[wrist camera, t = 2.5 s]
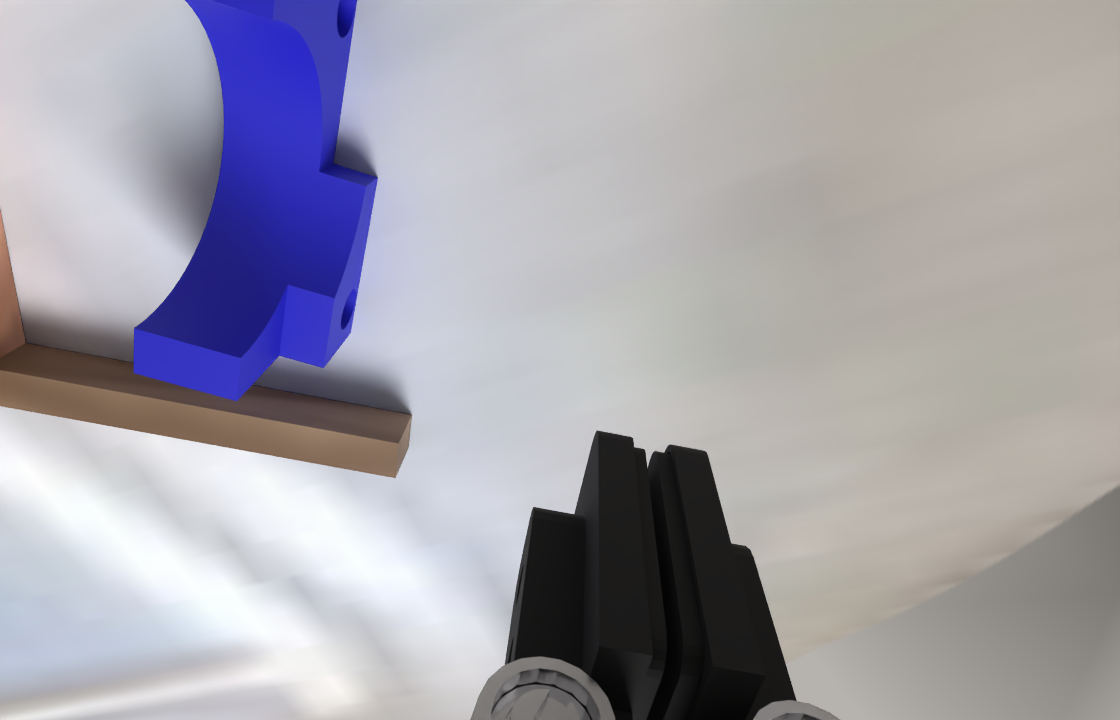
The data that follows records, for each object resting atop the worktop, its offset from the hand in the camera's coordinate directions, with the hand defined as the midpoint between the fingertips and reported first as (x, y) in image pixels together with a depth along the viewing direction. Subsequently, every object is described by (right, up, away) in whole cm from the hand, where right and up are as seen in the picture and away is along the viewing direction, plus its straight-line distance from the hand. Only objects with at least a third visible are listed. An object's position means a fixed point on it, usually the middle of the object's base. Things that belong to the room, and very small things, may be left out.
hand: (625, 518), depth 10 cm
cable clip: (-9, +9, +12) cm, 18 cm away
